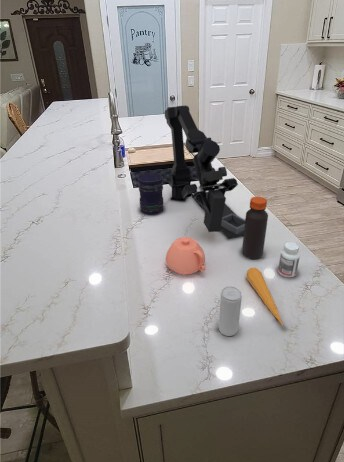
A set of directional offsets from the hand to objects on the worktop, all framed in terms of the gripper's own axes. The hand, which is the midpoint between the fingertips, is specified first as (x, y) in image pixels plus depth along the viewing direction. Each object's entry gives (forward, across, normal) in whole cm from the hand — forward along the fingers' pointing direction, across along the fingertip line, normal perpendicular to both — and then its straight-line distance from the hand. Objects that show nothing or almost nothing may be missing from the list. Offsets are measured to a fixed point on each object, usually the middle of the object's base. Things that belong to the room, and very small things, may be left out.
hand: (216, 211), depth 109 cm
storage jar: (-13, -15, +31) cm, 37 cm away
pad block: (+4, -1, +6) cm, 7 cm away
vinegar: (+16, +9, +2) cm, 19 cm away
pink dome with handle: (+16, -14, +2) cm, 21 cm away
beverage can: (+34, -12, -17) cm, 40 cm away
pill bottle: (+24, +14, -7) cm, 29 cm away
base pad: (-4, +11, +22) cm, 25 cm away
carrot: (+30, +2, -12) cm, 33 cm away
